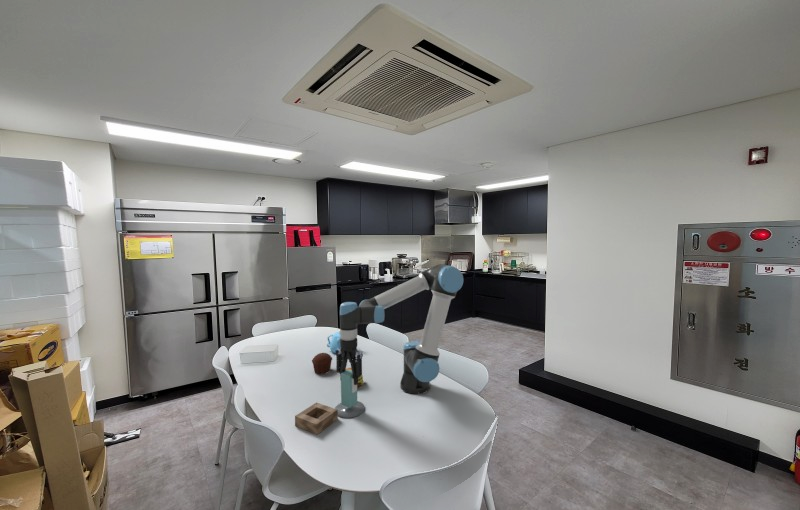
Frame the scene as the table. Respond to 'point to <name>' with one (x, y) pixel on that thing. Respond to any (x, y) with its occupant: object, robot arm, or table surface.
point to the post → (347, 389)
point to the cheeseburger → (360, 379)
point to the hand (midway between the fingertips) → (349, 389)
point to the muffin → (322, 363)
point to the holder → (309, 421)
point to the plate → (350, 410)
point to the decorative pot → (334, 342)
